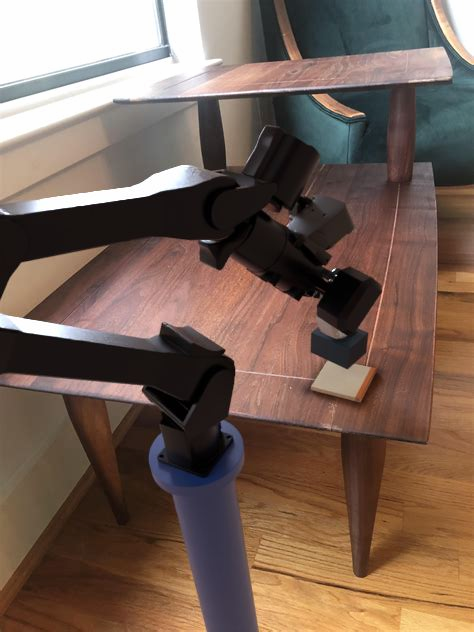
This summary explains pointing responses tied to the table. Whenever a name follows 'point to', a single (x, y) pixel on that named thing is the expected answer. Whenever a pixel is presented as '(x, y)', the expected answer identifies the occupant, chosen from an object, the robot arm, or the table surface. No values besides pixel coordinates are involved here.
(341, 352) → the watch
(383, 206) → the table surface
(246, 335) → the table surface
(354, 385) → the mat
